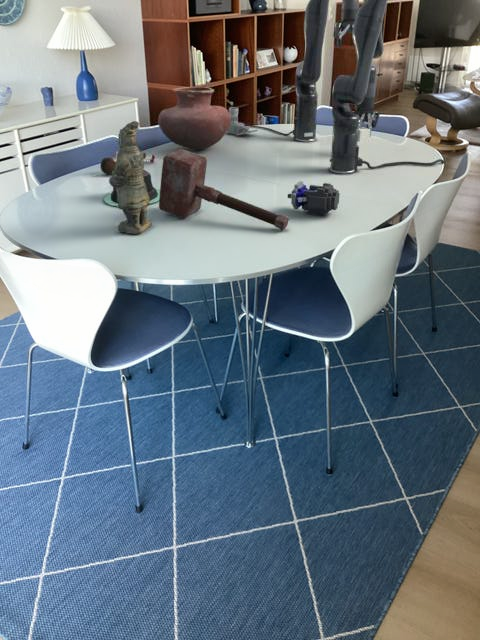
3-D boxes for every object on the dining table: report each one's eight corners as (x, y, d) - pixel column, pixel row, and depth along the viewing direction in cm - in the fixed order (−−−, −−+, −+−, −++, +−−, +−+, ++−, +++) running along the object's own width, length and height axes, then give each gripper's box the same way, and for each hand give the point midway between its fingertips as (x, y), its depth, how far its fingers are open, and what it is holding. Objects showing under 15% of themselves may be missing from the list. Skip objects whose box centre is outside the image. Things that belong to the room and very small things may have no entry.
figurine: (161, 151, 222) (115, 157, 203) (161, 170, 225) (116, 178, 206) (137, 147, 228) (90, 152, 209) (137, 166, 232) (91, 173, 212)
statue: (131, 220, 168) (117, 116, 152) (158, 224, 164) (147, 118, 149) (109, 233, 159) (93, 124, 144) (138, 237, 156) (124, 126, 140)
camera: (234, 105, 269) (258, 109, 260) (235, 130, 275) (258, 135, 266) (222, 108, 263) (246, 112, 254) (223, 134, 269) (246, 138, 260)
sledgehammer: (299, 190, 156) (179, 147, 167) (285, 200, 148) (161, 154, 160) (286, 244, 166) (174, 200, 177) (272, 256, 158) (156, 209, 170)
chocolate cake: (91, 202, 180) (113, 186, 197) (142, 231, 182) (160, 212, 199) (107, 162, 172) (129, 148, 190) (160, 192, 174) (177, 176, 192)
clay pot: (236, 141, 255) (235, 83, 242) (223, 158, 229) (221, 93, 216) (172, 140, 260) (168, 82, 247) (152, 156, 234) (146, 93, 221)
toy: (295, 178, 172) (342, 184, 166) (295, 205, 177) (340, 211, 171) (285, 186, 166) (333, 192, 160) (284, 213, 170) (331, 220, 164)
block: (362, 138, 229) (363, 126, 227) (369, 141, 225) (370, 129, 222) (352, 139, 228) (353, 128, 225) (359, 142, 224) (360, 130, 221)
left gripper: (360, 7, 257) (356, 46, 265) (332, 8, 253) (330, 47, 261) (368, 7, 251) (364, 47, 259) (339, 8, 247) (337, 48, 255)
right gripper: (375, 92, 222) (371, 135, 231) (344, 95, 218) (341, 139, 227) (386, 94, 216) (381, 139, 225) (354, 97, 212) (350, 143, 221)
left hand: (347, 47), depth 260 cm, fingers open, 8 cm apart
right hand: (361, 139), depth 226 cm, fingers closed on block, 4 cm apart
